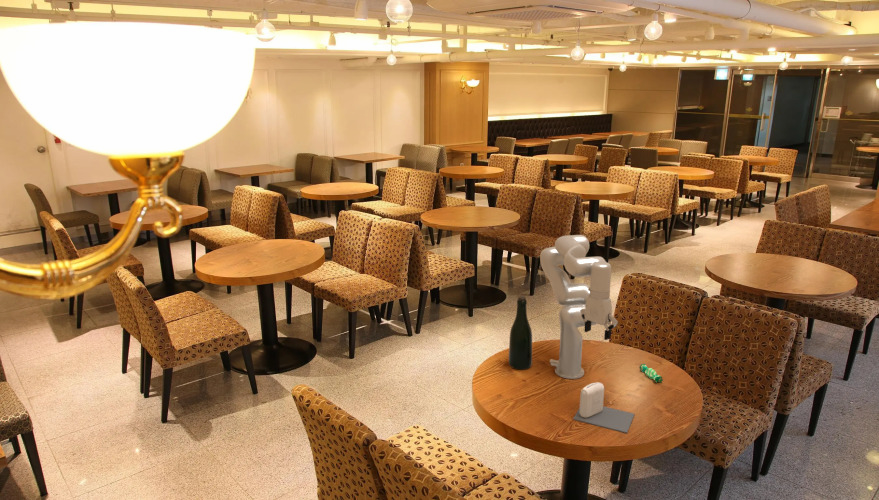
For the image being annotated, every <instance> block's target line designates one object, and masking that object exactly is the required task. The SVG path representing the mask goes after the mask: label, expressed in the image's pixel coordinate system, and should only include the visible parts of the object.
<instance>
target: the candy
mask: <svg viewBox="0 0 879 500" xmlns="http://www.w3.org/2000/svg"><path fill="white" fill-rule="evenodd" d="M639 371H641V372H642V373H644V374H645V377H647V378H649V379H650V380H654V382H655V383H656V384H658V382H659V383H662V382H663V381H664V379H663V377H662V376H661V375H659V374H657V371H656V370H655V369H653V368H651V367H648V366H647V365H646V363H641V364H640V366H639Z"/></svg>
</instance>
